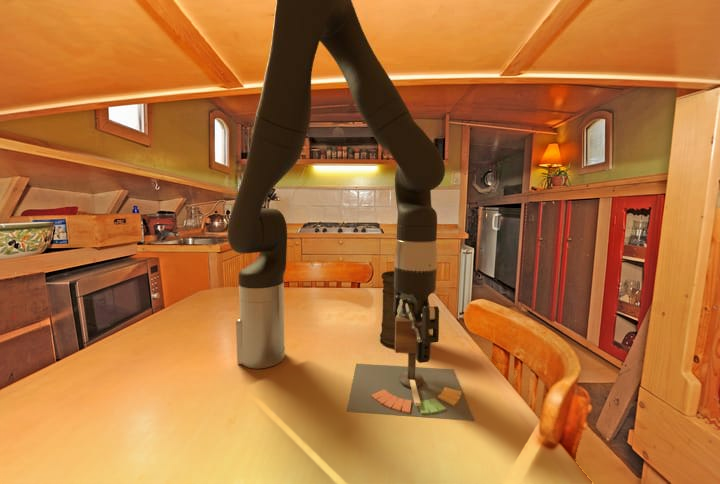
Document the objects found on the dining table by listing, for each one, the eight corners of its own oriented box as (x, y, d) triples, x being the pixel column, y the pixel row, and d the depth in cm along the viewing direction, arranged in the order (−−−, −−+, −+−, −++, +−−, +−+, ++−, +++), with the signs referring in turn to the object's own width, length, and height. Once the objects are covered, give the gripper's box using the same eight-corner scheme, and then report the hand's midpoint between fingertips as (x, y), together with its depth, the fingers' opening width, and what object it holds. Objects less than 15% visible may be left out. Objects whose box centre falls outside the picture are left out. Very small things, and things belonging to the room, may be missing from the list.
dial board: (346, 418, 49) (346, 409, 48) (356, 368, 63) (356, 362, 63) (474, 427, 47) (474, 418, 47) (453, 374, 62) (453, 367, 62)
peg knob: (393, 373, 59) (394, 314, 58) (426, 374, 59) (428, 315, 58) (397, 406, 49) (400, 337, 48) (437, 408, 49) (440, 338, 48)
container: (386, 356, 69) (388, 279, 67) (374, 339, 78) (375, 271, 76) (422, 351, 71) (425, 277, 69) (406, 336, 80) (408, 269, 78)
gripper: (455, 272, 49) (450, 367, 51) (417, 257, 62) (414, 332, 64) (413, 274, 47) (409, 373, 49) (382, 258, 60) (380, 336, 62)
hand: (412, 350), depth 56 cm, fingers open, 8 cm apart
